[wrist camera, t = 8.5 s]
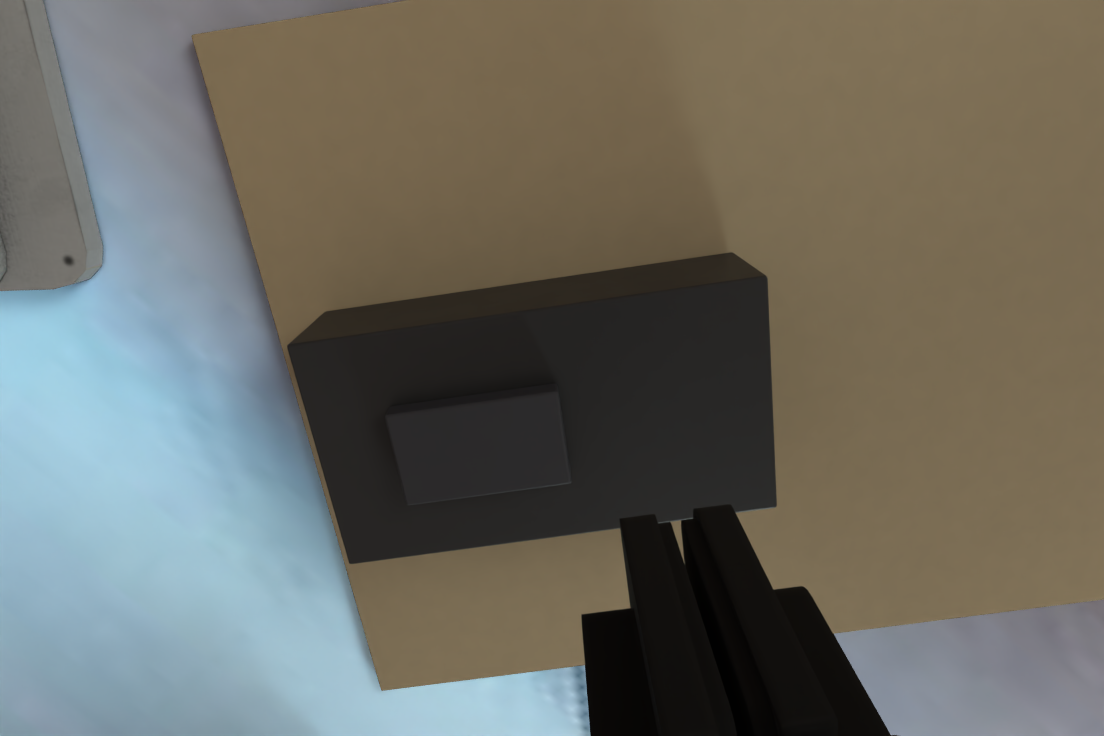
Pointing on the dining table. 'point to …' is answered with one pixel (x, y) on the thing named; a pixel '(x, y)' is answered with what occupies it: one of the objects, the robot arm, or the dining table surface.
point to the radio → (542, 406)
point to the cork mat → (715, 228)
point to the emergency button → (40, 163)
